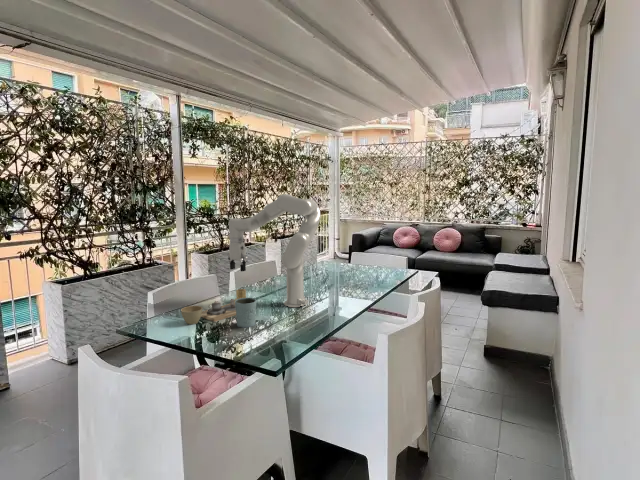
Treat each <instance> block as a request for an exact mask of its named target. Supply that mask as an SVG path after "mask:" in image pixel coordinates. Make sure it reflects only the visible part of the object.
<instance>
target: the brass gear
mask: <svg viewBox="0 0 640 480" xmlns="http://www.w3.org/2000/svg"><path fill="white" fill-rule="evenodd" d="M235 293H236V295H235V296H236V297H235V299H234V302H235V300H237V299H240V298H247V289H244V288H239V289H236V290H235Z"/></svg>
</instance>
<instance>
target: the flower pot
mask: <svg viewBox="0 0 640 480" xmlns="http://www.w3.org/2000/svg"><path fill="white" fill-rule="evenodd" d="M202 311H203V307H202V306H199V305H187V306H185V307H182V308H181V309H180V312H181V315H182V318H183V320H184V322H185V323H186V324H187V325H197V324H198V323H199V322H200V319H201V318H202V317H201V314H202Z"/></svg>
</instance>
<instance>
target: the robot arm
mask: <svg viewBox="0 0 640 480" xmlns="http://www.w3.org/2000/svg"><path fill="white" fill-rule="evenodd" d="M285 213H291V214H295V215H299V216H304V219H303V221H302V222H301V225H300V226H299V229H298V231H297V232H296V233H295V234H293V236H291V238H290V240H289V241H288V243H287V246H286V248H285V251H284V252H283V255H282V257H281V262H282V266H283V267H285V268H286V272H285V273H286V277H285V279H286V300H285V301H284V303H283V304H284V306H285V307H287V306H288V307H287V308H300V306H302V307H305V306H306V305H307V304H308V303H309V300H308V299H306V296H305V295H304V294H305V291H304V268H305V267H304V265H305V256H304V254H305V251H306V250H307V248H308V247H309V246H310V244H311V242H312V240H313V237H314V235H315V233H316V230H317V228H318V226H319V223H320V220H321V210H320V206H319V205H318V204H317V202H316V201H314V200H313V199H311V198H305V199H303V198H300V197H295V196H293V195H291V194H289V193H285V194H280V195H279V196H278V197H277V198H276V199H275V200H273V201H272V202H270V203H268V204H267V205H265V206H264V207H263V209H262V210H261V211H260V212H258V213H256V214H255V215H252V216H251V217H248V218H237V217H236V218H230V219H229V220H228V228H229V229H228V230H229V231H228V232H229V234H228V235H229V248H228V251H229V253H227V259H228V261H229V270H235V269H236V261H238V262H239V263H240V266H239V267H240V272H247V271H246V269H247V268H246V267H247V266H246V265H247V262H248V256H247V251H246V245H245V242H244V233H250V232H252V231H255V230H258V229H260V228H261V227H263V226H265V225H266V224H268V223H269V222H271V221H273V220H275V219H277V218H278V217H280V216H281V215H284V214H285ZM304 305H305V306H304Z"/></svg>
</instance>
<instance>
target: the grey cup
mask: <svg viewBox="0 0 640 480" xmlns="http://www.w3.org/2000/svg"><path fill="white" fill-rule="evenodd" d="M234 300H235V299H234ZM235 307H236V315H235V316H236V326H237V327H238V328H247V329H248V328H251V327H254V326H255V325H256V314H257V311H256V310H257V299H256V298H253V297H246V298H240V299H237V300H235Z"/></svg>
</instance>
